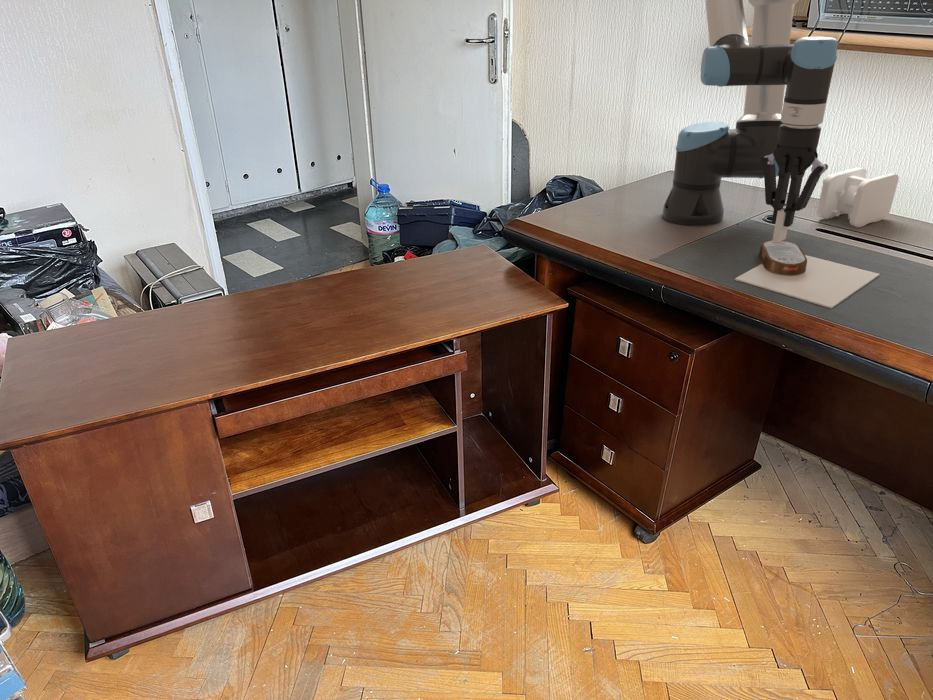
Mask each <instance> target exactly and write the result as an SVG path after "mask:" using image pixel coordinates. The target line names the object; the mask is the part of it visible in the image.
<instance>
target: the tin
mask: <svg viewBox="0 0 933 700" xmlns="http://www.w3.org/2000/svg"><path fill="white" fill-rule="evenodd" d="M805 255H806V254H805V253H804V251H803V250H802V248H801V246H800V245H799V244H797V243H796V242H793V241H789V240H783V241H781V242H776V241H772V240H770V239H769V240H766V241H763V242H761V245H760V249H759V253H758V256H759V259H760V261H761V264H762V263H763V266H764V268H765V269H766V270H768V271H769V272H772V273H775V274H780V275H790V276H792V275H800V274H803V273H804V272H805V271H806V265H807V258H806V256H805Z"/></svg>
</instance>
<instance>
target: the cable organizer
mask: <svg viewBox="0 0 933 700" xmlns="http://www.w3.org/2000/svg"><path fill="white" fill-rule="evenodd" d="M867 173H868V172H867V169H866V168H863V167H853V168H849V169H845V170H842V171H837V172H835V173H830V174H829V175H827V176H826V177H825V178H824V179H822V186H821V191H820V192H821V193H820V197H819V200H818V205H817V210H816V216H817V217H819V218H822V219H824V220H829V218H830V219H832V218H835V217H837V218H840V217H839V216H840V215H846V214H847V215H848V217H847V220H848V221H849V224H850V225H851V226H853V227H855V228H857V229H858V227H859V228H861V227H864V226H866V225H867V224H871V223H876V222H880V221H882V220H884V219H885V218H886V217H887V216H889V214H890V212H891V210H892V205H893V202H894V199H895V198H894V197H895V195H896V194H895V193H896V190H897V186H898V183H899V180H900V179H899V178H900V177H899V175H898V174H897V173H891V172H890V173H886V174H883V175H879V176H876V177H872V178H867Z"/></svg>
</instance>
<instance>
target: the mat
mask: <svg viewBox="0 0 933 700" xmlns="http://www.w3.org/2000/svg"><path fill="white" fill-rule="evenodd" d="M804 255H805V256H806V258H807V265H806V271H805V272H804V273H803V274H800V275H792V276H790V275H780V274H775V273H772V272H769V271H768V270H766V269H765V268H764V266H763V263H762V262H761V263H760V264H759V265H757V266H755V267H753V268H752V269H749V270H748V271H746V272H744V273H742V274H740V275H738V276H737V277H735V278H734V281H738V282H742V283H745V284H748V285H751V286H753V287H759V288H761V289H763V290H768V291H771V292H773V293H774V292H775V293H779V294H782V295H784V296H787V297H791V298H795V299H798V300H801V301H805V302H807V303H811V304H815V305H818V306H821V307H824V308H828V309H833V308H835V307H836V306H837V305H839V304H840V303H842V302H844V301H845V300H846V299H847V298H849V297H850V296H852V295H853V294H855V293H856V292H857V291H859V290H860V289H862V288H864V287H865V286H866V285H868V284H869V283H871V282H872V281H874V280H875V279H876V278H878V277H880V273H878V272H874V271H870V270H865V269H860V268H859V267H854V266H850V265H845V264H842V263H838V262H836V261H835V262H834V261H830V260H826V259H822V258H819V257H815V256H811V255H807V254H804Z"/></svg>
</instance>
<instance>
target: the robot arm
mask: <svg viewBox="0 0 933 700" xmlns="http://www.w3.org/2000/svg"><path fill="white" fill-rule="evenodd" d="M704 1H705V11H706V20H707V29H708V30H707V31H708V40H709V46H707V47H706V48H705V49H704V50H703V53H702V57H701V63H700V81H701V84H703V85H704V86H711V87H712V86H717V87H719V88H721V87H735V86H736V87H737V86H739V87H740V86H741V87H742V86H746V88H745V96H744V97H745V98H744V99H745V100H744V106H743V107H744V108H743V114H742V116H741V117H739V118H738V119H737V120H736V124H735V128H733V129H732V128H730V127H729V124H728V123H727V122H723V121H705V122H699V123H695V124H690V125H688V126H685V127H684V128H682V129H681V130H680V131H679V133H678V135H677V136H678V137H677V141H676V146H675V151H676V152H675V160H674V170H673V178H672V186H671V189H670V191H669V193H668V195H667V198H666V200H665V203H664V205H663V208H662V218H664V219H665V220H666V221H668V222H670V223H674V224H678V225H683V226H691V227H693V226H695V227H697V226H710V225H715V224H718V223H720V222H721V221H723V218H724V212H725V210H724V209H725V208H724V204H723V203H724V202H723V199H722V193H721V181H722V178H723V179H724V178H729V179H730V178H731V179H732V178H736V179H738V178H739V179H741V178H742V179H757V178H758V179H764V194H765V195H764V197H765V204H766V205H769V206H770V207H772V208H773V213H772V218H771V223H772V224H774V228H773V229H774V230H773V233H772V234H773V235H772V241H776V242H781V241H785V240H786V237H787V233H788V228H789V227H791V226H792V225H793V223H794V218H795V215H796V214H795V213H796V211H797V212H799V211H802V210H803V209H805V208H806V207H807V205H808V203H809V201H810V199H811V196H812V195H813V193H814V190H815V189H816V186H817V185H818V182H819V181H820V178H821V176H822V175H823V174H824V173H825V172H826V171H827V169H828V167H829V166H828V164H827V163H823V162H821V161H820V160H819V159H818V158H819V154H818V146H819V143H820V136H821V133H822V132H821V131H822V127H821V126H820V125H821V124H823V122H824V118H825V113H826V106H827V102H828V96H829V93H830V92H829V91H830V89H831V88H830V87H831V82H832V79H833V73H834V69H835V63H836V61H837V59H838V57H837V52H838V45H839V43H838V40H837V38H834V37H828V36H804V37H799V38H797V39H796V40H795V41H793V42H791V36H792V35H791V34H792V25H793V18H794V9H795V5H796V4H797V3H798V2H799V1H800V0H747V1H748V3H749V4H750V5H751V6H752V7H753V18H752V27H751V28H752V29H751V38H750V43H749V35H748V29H747V22H746V16H745V15H746V14H745V7H744V2H743V0H704ZM810 167H811V169H810V174H809V176H807V177H808V178H807V179H806V182H805V184H804V186H803V188H802V190H801V187H802V184H803V180H804V179H803V178H804V176H805V175H806V174H805V173H806V171H807V170H808V169H809V168H810ZM777 177H778V179H777Z"/></svg>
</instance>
